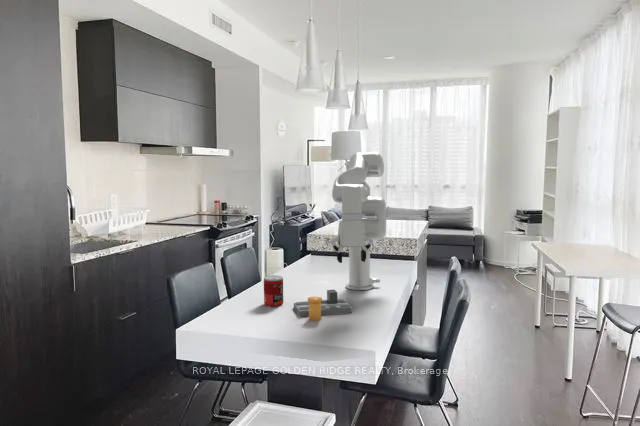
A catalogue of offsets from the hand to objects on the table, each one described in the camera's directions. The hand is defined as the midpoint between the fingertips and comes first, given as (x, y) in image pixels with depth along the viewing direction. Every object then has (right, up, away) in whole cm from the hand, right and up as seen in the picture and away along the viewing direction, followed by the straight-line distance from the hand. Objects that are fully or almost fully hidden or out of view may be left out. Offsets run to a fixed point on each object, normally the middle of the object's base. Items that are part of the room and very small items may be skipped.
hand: (351, 261), depth 180 cm
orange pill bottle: (-14, -19, -12) cm, 27 cm away
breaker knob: (-8, -16, 0) cm, 18 cm away
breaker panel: (-11, -18, -1) cm, 22 cm away
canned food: (-31, -18, +8) cm, 37 cm away
